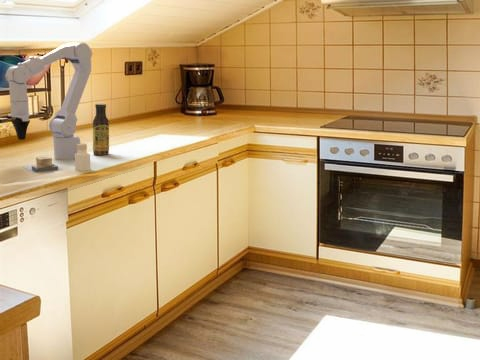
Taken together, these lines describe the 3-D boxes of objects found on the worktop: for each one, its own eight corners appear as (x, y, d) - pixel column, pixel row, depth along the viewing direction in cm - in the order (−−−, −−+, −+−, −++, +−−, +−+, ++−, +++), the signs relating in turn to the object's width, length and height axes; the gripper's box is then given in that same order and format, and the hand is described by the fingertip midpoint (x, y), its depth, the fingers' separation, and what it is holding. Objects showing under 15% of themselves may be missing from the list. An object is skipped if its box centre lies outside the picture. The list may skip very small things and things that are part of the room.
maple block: (48, 167, 217) (47, 156, 216) (52, 169, 213) (51, 158, 212) (36, 168, 215) (36, 157, 214) (40, 171, 211) (40, 159, 210)
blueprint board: (49, 165, 225) (49, 159, 225) (63, 172, 213) (63, 166, 213) (21, 168, 220) (21, 162, 219) (34, 175, 208) (33, 169, 207)
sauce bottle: (94, 156, 243) (92, 105, 239) (91, 153, 248) (89, 103, 244) (111, 155, 245) (109, 104, 241) (108, 152, 251) (106, 102, 247)
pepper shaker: (81, 173, 212) (80, 145, 210) (74, 171, 214) (73, 144, 212) (91, 171, 215) (90, 144, 213) (84, 170, 217) (83, 142, 215)
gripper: (1, 100, 223) (4, 137, 226) (12, 103, 211) (15, 143, 214) (22, 99, 227) (24, 136, 230) (33, 102, 215) (36, 141, 218)
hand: (21, 139), depth 222 cm, fingers closed
